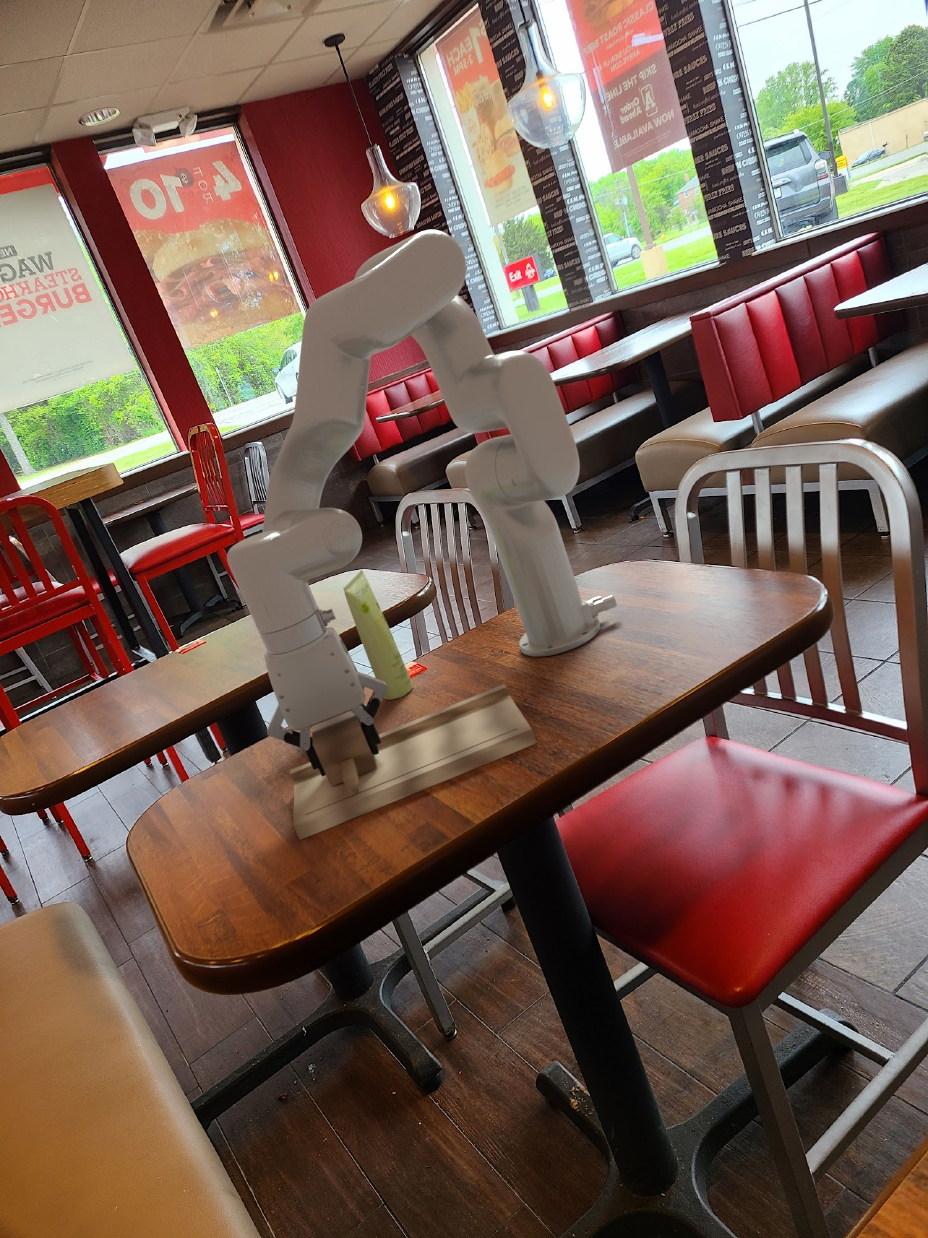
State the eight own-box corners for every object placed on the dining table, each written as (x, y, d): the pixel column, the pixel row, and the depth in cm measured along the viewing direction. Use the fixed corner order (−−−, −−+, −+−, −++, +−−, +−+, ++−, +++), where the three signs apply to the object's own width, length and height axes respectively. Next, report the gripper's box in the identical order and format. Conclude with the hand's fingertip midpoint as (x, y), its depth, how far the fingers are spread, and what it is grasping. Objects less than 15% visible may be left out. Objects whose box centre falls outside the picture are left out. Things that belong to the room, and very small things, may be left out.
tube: (420, 690, 133) (373, 572, 127) (391, 705, 131) (342, 587, 125) (406, 681, 138) (361, 568, 132) (378, 696, 136) (331, 582, 130)
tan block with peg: (373, 748, 113) (356, 708, 111) (380, 785, 103) (362, 742, 101) (329, 766, 113) (312, 726, 111) (332, 805, 102) (313, 762, 100)
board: (511, 704, 116) (504, 684, 116) (536, 743, 104) (528, 720, 103) (300, 790, 114) (290, 770, 113) (300, 840, 102) (289, 817, 101)
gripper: (360, 599, 108) (410, 723, 114) (228, 651, 107) (285, 774, 113) (364, 614, 101) (418, 746, 107) (223, 670, 100) (284, 800, 105)
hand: (349, 759), depth 110 cm, fingers open, 6 cm apart
